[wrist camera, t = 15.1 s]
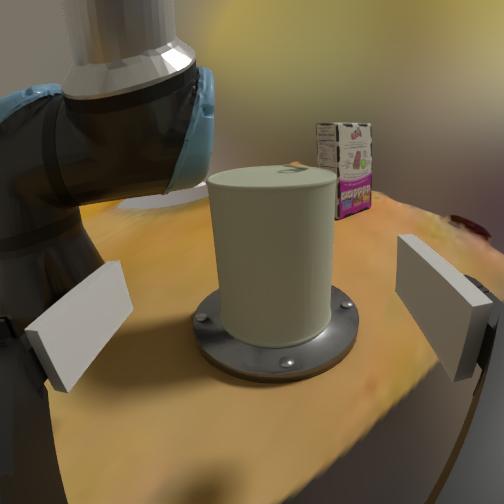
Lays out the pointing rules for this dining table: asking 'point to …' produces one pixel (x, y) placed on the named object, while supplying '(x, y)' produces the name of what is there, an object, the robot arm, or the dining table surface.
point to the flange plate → (276, 359)
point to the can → (274, 251)
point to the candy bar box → (347, 164)
